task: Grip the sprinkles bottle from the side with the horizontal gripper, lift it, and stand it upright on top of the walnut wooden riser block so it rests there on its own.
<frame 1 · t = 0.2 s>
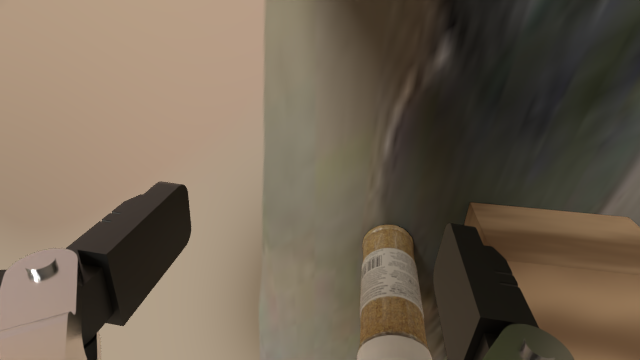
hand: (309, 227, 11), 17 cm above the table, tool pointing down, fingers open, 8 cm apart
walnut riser: (524, 266, 32), on the table
sprinkles bottle: (387, 241, 33), on the table
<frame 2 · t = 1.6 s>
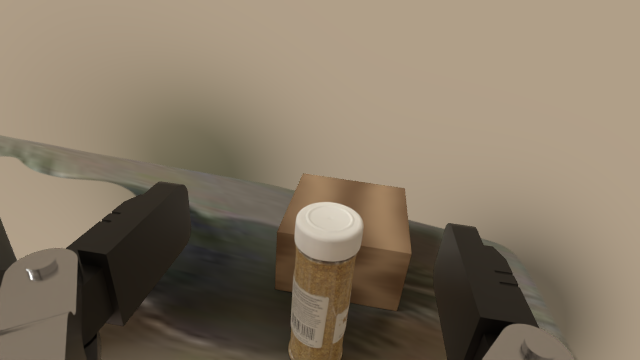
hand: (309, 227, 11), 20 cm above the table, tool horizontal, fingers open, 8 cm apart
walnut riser: (341, 260, 41), on the table
sprinkles bottle: (314, 353, 30), on the table
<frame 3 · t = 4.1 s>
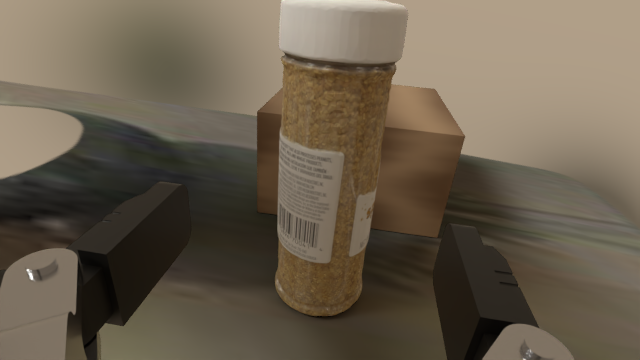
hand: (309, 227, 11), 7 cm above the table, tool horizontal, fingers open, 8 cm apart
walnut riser: (351, 183, 30), on the table
sprinkles bottle: (316, 288, 19), on the table
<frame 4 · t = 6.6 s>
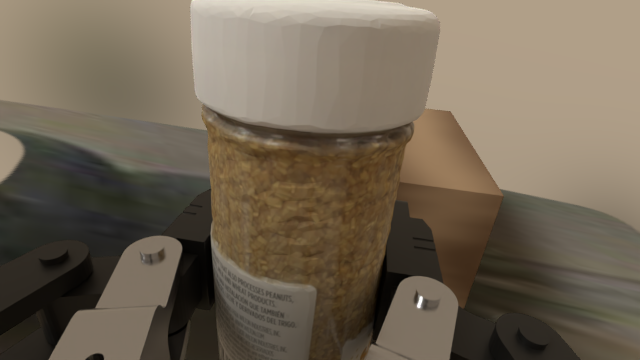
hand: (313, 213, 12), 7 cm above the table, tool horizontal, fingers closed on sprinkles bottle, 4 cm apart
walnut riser: (344, 232, 23), on the table
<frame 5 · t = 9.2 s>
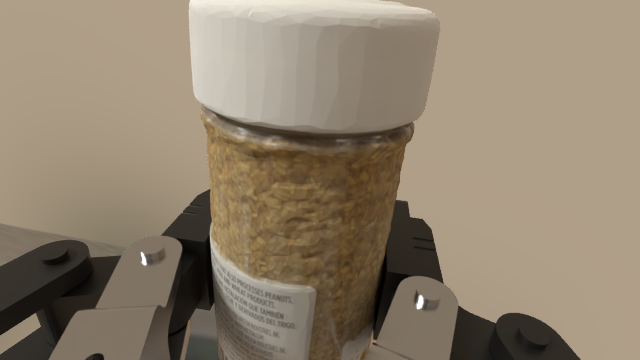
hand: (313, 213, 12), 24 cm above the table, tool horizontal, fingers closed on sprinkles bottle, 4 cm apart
when the fingers open (15 cm above the table, at t = 12.3 s): sprinkles bottle drops 1 cm, resting on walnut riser.
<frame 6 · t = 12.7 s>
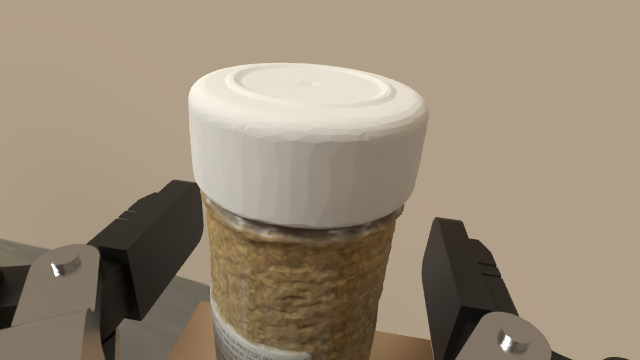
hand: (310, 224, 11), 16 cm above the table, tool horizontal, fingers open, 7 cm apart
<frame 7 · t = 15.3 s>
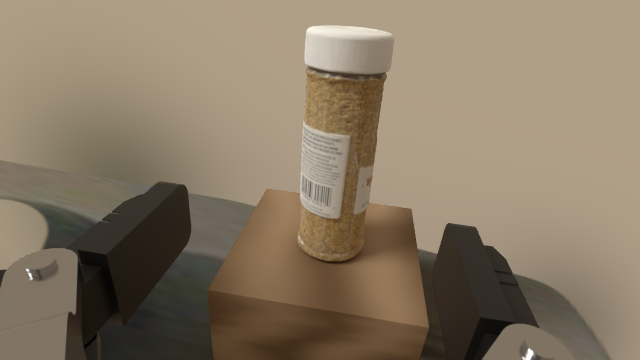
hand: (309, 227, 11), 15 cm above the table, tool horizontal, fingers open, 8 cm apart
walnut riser: (320, 315, 28), on the table
sprinkles bottle: (329, 245, 25), point 7 cm above the table, touching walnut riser
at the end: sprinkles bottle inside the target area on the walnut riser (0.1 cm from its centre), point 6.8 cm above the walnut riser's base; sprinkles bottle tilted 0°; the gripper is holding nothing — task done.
